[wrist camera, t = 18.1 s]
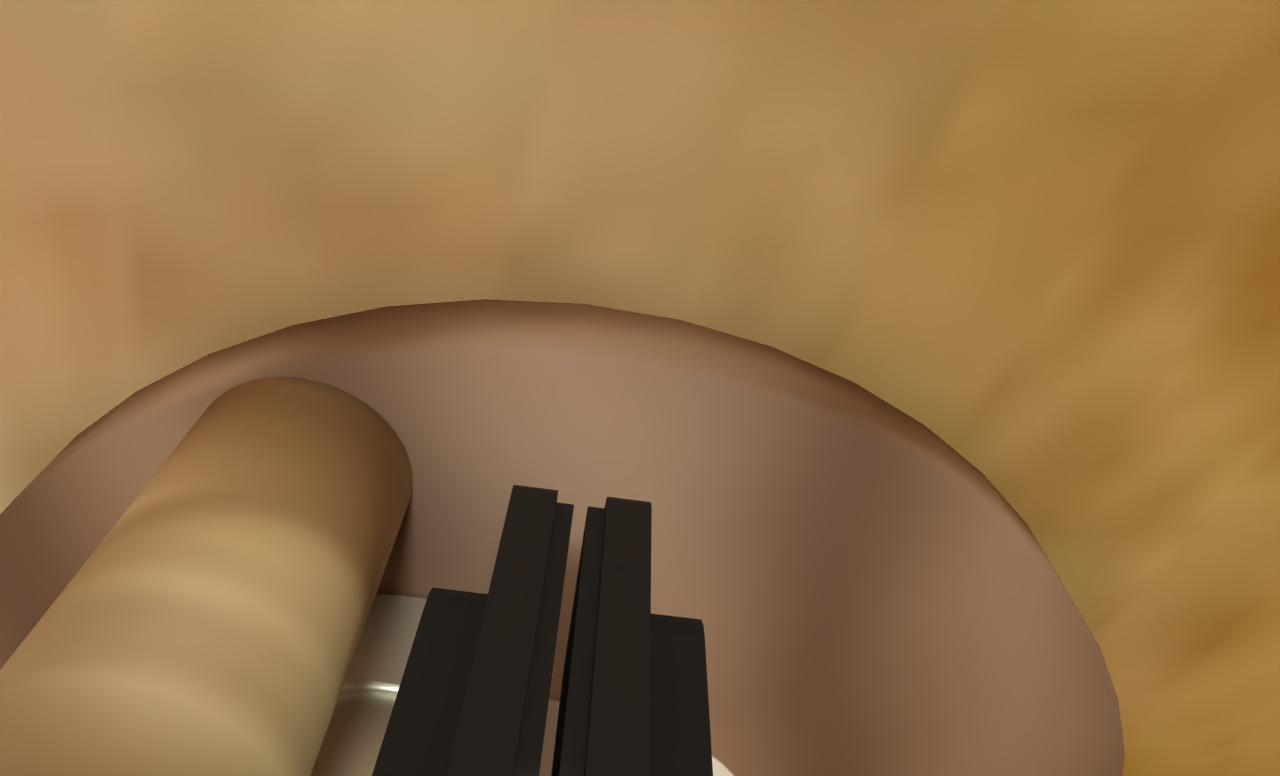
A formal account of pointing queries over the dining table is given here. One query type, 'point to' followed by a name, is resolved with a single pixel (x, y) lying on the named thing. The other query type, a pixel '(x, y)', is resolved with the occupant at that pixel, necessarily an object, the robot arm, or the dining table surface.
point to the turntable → (470, 536)
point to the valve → (370, 688)
